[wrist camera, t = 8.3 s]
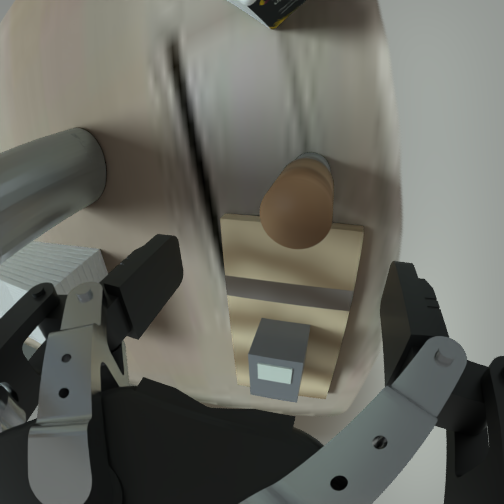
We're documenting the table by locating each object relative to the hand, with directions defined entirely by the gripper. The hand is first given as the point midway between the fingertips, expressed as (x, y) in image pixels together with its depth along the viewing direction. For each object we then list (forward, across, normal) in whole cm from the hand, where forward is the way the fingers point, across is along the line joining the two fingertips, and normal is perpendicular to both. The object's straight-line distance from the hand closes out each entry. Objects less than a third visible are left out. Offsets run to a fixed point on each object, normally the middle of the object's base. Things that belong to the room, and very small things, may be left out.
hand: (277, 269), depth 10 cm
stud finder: (+13, +1, +18) cm, 22 cm away
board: (+14, +1, +16) cm, 21 cm away
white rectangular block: (+14, +41, +16) cm, 46 cm away
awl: (+14, 0, 0) cm, 14 cm away
